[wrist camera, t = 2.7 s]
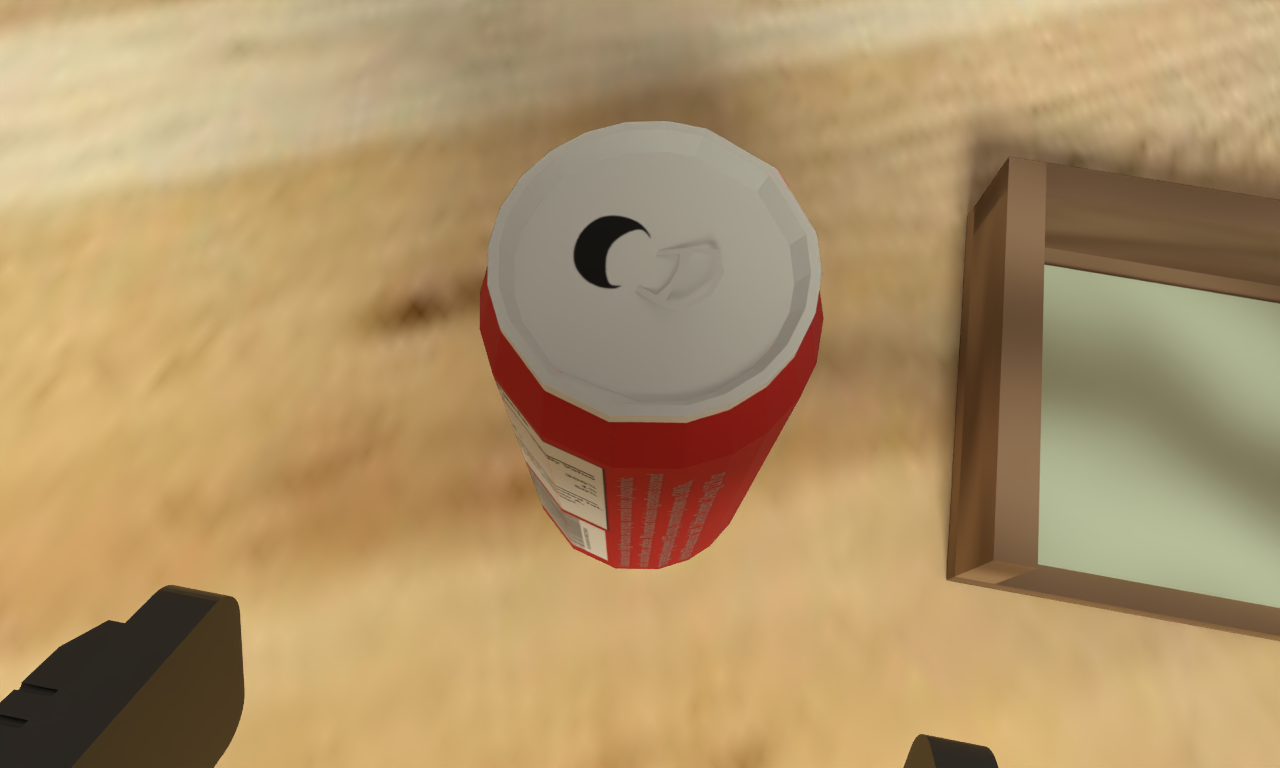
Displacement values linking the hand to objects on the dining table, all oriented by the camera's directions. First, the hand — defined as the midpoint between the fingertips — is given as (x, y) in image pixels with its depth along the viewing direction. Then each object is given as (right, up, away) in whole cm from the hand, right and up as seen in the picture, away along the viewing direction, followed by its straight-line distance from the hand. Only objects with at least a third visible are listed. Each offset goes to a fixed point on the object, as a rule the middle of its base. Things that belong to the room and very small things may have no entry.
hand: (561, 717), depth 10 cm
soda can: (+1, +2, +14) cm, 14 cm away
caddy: (+15, +3, +14) cm, 21 cm away
